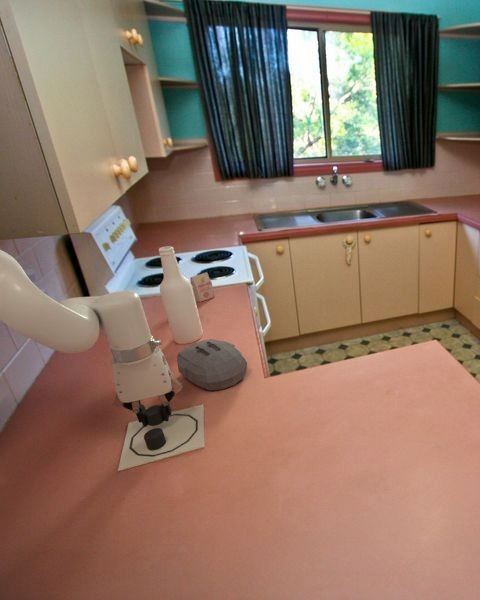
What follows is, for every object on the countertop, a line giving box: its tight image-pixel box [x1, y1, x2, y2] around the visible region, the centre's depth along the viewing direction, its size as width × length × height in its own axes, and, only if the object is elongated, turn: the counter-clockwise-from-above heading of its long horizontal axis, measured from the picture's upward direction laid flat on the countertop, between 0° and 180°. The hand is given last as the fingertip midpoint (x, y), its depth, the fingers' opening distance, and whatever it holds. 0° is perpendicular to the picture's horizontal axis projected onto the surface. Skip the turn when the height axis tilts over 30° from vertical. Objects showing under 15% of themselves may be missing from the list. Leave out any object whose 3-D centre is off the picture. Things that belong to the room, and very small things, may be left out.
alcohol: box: [158, 245, 204, 345], centre depth 130 cm, size 9×9×30 cm
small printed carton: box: [189, 272, 216, 304], centre depth 164 cm, size 4×7×10 cm, turn 144°
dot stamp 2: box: [144, 428, 166, 451], centre depth 91 cm, size 4×4×3 cm
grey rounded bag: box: [176, 338, 248, 391], centre depth 115 cm, size 15×8×20 cm
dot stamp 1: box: [144, 404, 165, 426], centre depth 95 cm, size 4×4×3 cm
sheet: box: [117, 403, 206, 473], centre depth 94 cm, size 16×16×1 cm
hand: (156, 419), depth 95 cm, fingers closed on dot stamp 1, 3 cm apart
